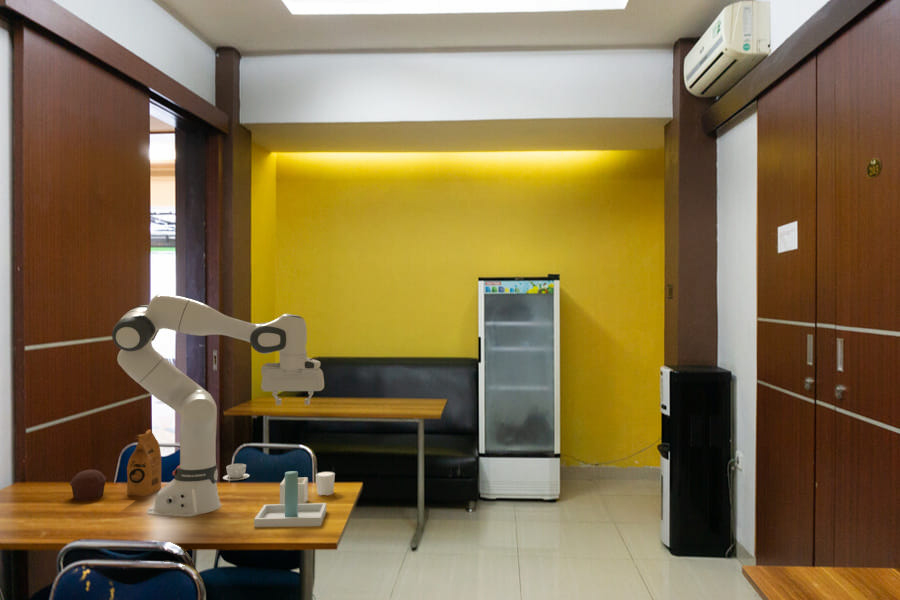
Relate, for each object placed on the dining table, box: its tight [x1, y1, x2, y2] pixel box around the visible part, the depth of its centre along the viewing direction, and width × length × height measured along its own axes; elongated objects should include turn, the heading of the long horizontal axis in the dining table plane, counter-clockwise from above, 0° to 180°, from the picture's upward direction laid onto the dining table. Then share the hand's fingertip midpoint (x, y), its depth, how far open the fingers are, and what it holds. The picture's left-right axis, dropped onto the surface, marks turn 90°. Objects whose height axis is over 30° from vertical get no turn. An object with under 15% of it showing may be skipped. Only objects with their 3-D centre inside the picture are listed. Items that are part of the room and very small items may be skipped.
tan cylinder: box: [315, 471, 336, 496], centre depth 229 cm, size 7×7×7 cm
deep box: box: [279, 476, 309, 504], centre depth 216 cm, size 8×8×8 cm
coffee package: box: [126, 429, 162, 497], centre depth 230 cm, size 10×12×22 cm
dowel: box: [284, 470, 299, 517], centre depth 201 cm, size 4×4×14 cm
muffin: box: [69, 469, 108, 501], centre depth 222 cm, size 12×11×10 cm
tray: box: [253, 502, 327, 528], centre depth 201 cm, size 20×14×3 cm
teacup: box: [222, 463, 250, 481], centre depth 250 cm, size 10×10×5 cm
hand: (293, 404), depth 211 cm, fingers open, 8 cm apart
